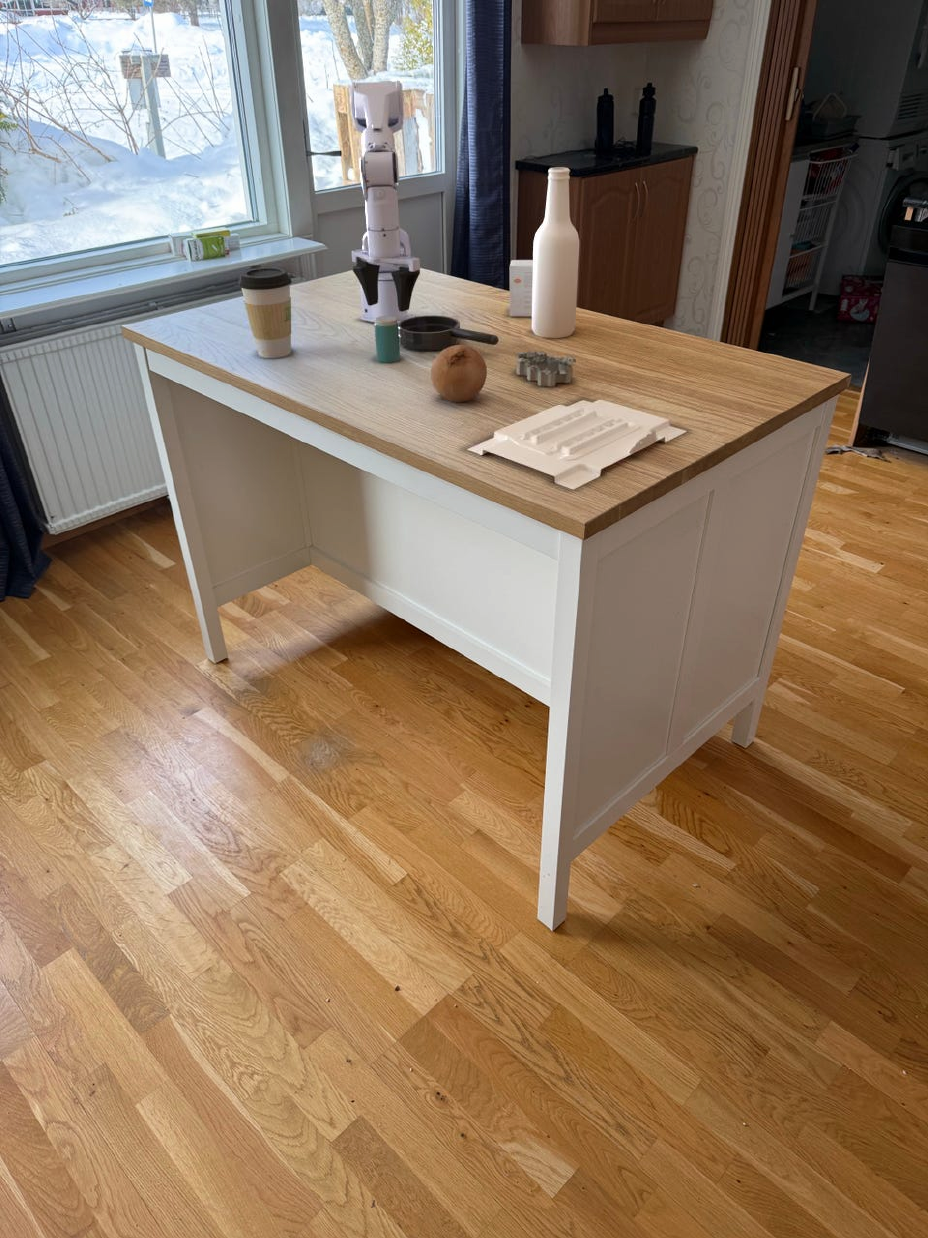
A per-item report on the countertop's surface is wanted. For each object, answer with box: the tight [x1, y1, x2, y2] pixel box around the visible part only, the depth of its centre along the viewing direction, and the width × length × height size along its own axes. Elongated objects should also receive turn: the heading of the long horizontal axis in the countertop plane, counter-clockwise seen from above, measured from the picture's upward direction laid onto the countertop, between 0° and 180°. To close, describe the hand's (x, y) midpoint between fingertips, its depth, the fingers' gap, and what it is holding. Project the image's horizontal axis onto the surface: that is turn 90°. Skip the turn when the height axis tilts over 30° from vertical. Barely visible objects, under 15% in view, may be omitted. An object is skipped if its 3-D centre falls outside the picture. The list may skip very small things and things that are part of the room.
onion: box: [430, 344, 488, 403], centre depth 149 cm, size 10×9×10 cm
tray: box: [466, 399, 687, 490], centre depth 135 cm, size 20×28×4 cm
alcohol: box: [531, 166, 580, 339], centre depth 174 cm, size 9×9×30 cm
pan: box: [398, 315, 461, 352], centre depth 177 cm, size 12×12×4 cm
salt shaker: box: [373, 316, 401, 364], centre depth 168 cm, size 4×4×8 cm
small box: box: [509, 259, 533, 318], centre depth 191 cm, size 8×6×10 cm
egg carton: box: [513, 350, 577, 388], centre depth 158 cm, size 11×8×4 cm
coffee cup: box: [238, 266, 293, 359], centre depth 170 cm, size 10×10×15 cm
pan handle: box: [451, 327, 499, 346], centre depth 171 cm, size 11×2×2 cm, turn 53°
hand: (388, 307), depth 165 cm, fingers open, 7 cm apart
